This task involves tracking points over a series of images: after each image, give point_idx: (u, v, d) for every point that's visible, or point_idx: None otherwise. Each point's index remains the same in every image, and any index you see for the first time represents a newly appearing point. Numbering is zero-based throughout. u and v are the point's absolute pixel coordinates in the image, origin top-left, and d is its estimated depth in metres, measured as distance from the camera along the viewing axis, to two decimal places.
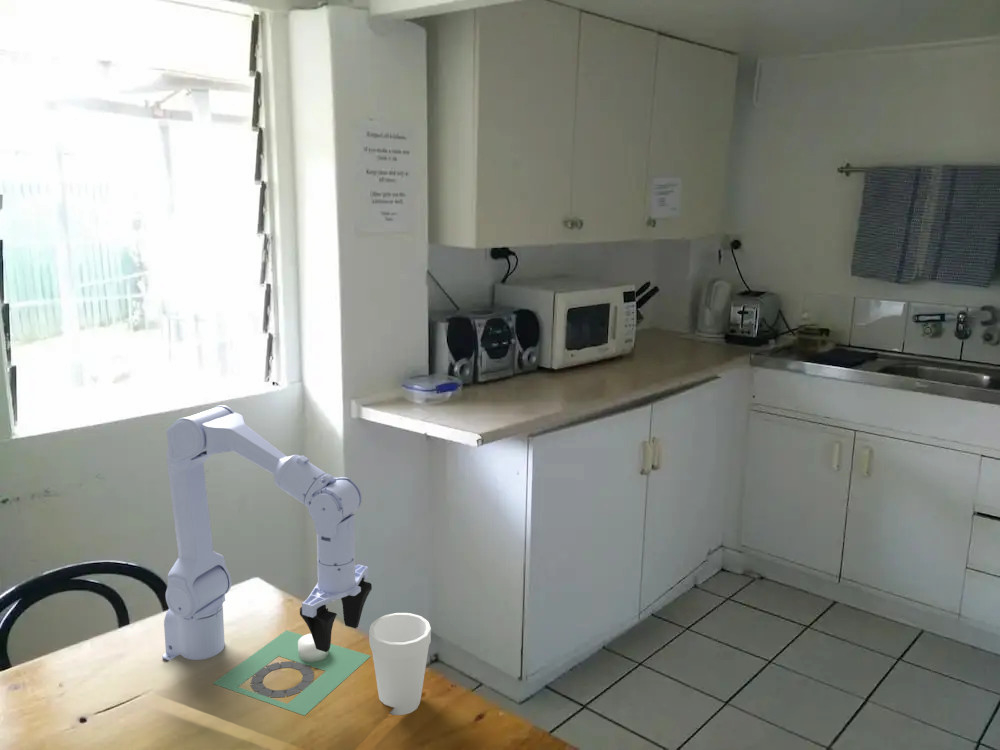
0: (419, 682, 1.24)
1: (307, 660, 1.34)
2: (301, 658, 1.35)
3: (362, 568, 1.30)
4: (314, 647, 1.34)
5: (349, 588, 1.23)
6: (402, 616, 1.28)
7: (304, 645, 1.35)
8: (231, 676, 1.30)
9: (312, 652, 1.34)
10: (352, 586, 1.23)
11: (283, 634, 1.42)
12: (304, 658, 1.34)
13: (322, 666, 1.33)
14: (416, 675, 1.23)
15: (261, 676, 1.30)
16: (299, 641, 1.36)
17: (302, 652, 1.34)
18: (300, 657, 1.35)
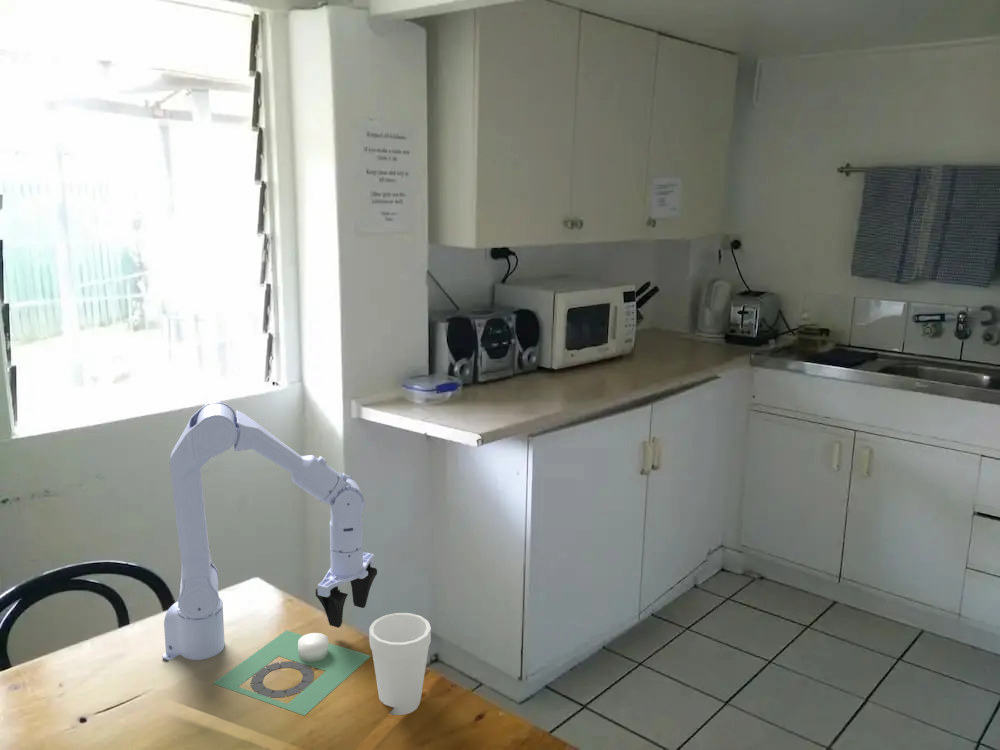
0: (419, 682, 1.24)
1: (307, 659, 1.34)
2: (301, 658, 1.35)
3: (368, 555, 1.49)
4: (314, 647, 1.34)
5: (358, 572, 1.41)
6: (402, 616, 1.28)
7: (304, 645, 1.35)
8: (231, 676, 1.30)
9: (312, 652, 1.34)
10: (360, 570, 1.42)
11: (283, 634, 1.42)
12: (304, 658, 1.34)
13: (322, 666, 1.33)
14: (416, 675, 1.23)
15: (261, 676, 1.30)
16: (299, 641, 1.36)
17: (301, 651, 1.34)
18: (300, 657, 1.35)
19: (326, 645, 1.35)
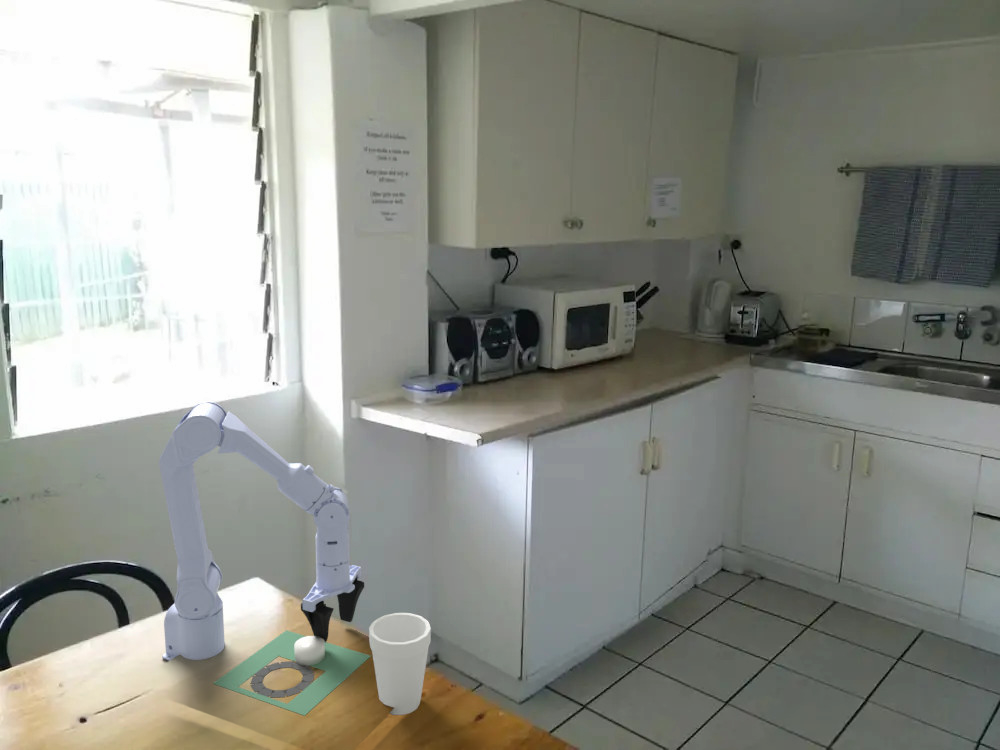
0: (419, 682, 1.24)
1: (303, 663, 1.33)
2: (297, 661, 1.34)
3: (356, 568, 1.45)
4: (310, 650, 1.33)
5: (344, 586, 1.38)
6: (402, 616, 1.28)
7: (300, 648, 1.34)
8: (231, 676, 1.30)
9: (309, 655, 1.33)
10: (347, 584, 1.39)
11: (283, 634, 1.42)
12: (300, 661, 1.33)
13: (322, 666, 1.33)
14: (416, 675, 1.23)
15: (261, 676, 1.30)
16: (295, 644, 1.35)
17: (298, 655, 1.33)
18: (296, 660, 1.34)
19: (322, 648, 1.34)
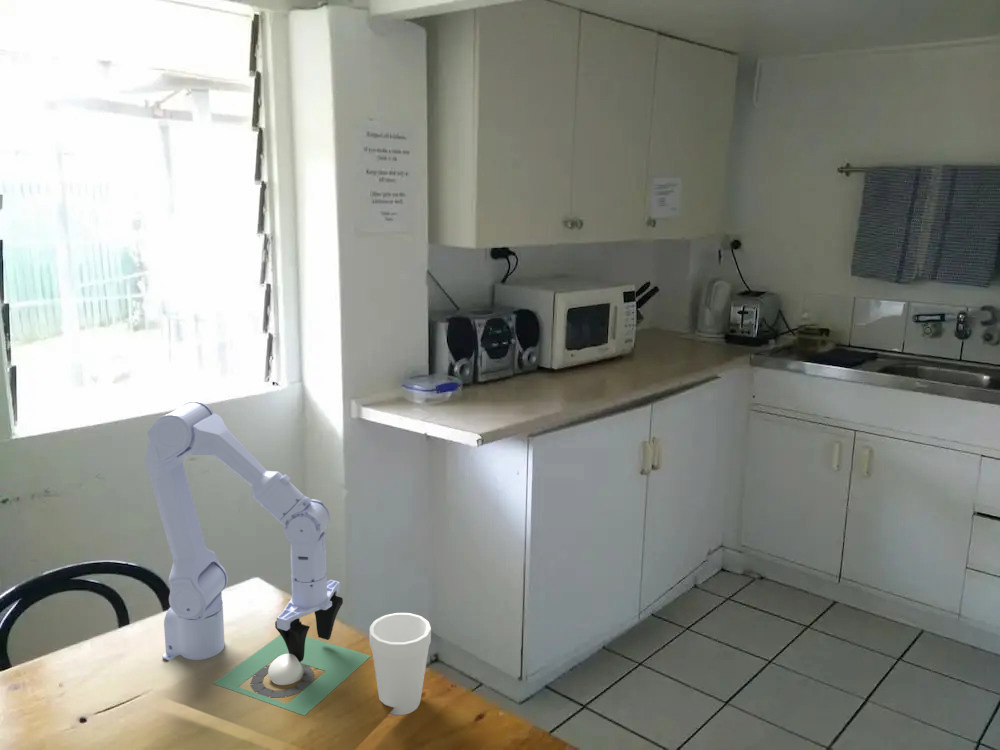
0: (419, 682, 1.24)
1: None
2: None
3: (334, 583, 1.40)
4: (285, 678, 1.27)
5: (321, 603, 1.32)
6: (402, 616, 1.28)
7: (275, 677, 1.28)
8: (231, 676, 1.30)
9: (285, 682, 1.28)
10: (324, 601, 1.33)
11: None
12: None
13: (322, 666, 1.33)
14: (416, 675, 1.23)
15: (261, 676, 1.30)
16: (269, 671, 1.29)
17: None
18: None
19: (297, 669, 1.29)
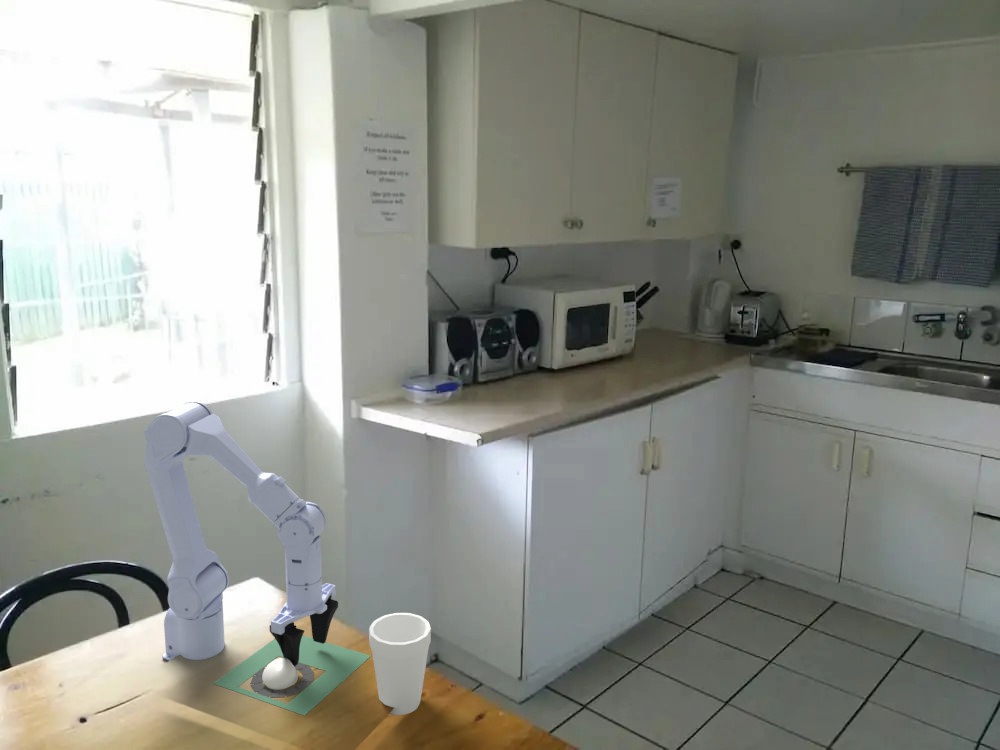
0: (419, 682, 1.24)
1: None
2: None
3: (330, 586, 1.38)
4: (279, 682, 1.26)
5: (316, 607, 1.31)
6: (402, 616, 1.28)
7: (269, 681, 1.27)
8: (231, 676, 1.30)
9: (279, 687, 1.26)
10: (319, 604, 1.31)
11: None
12: None
13: (322, 666, 1.33)
14: (416, 675, 1.22)
15: (261, 676, 1.30)
16: (263, 675, 1.28)
17: None
18: None
19: (291, 674, 1.27)
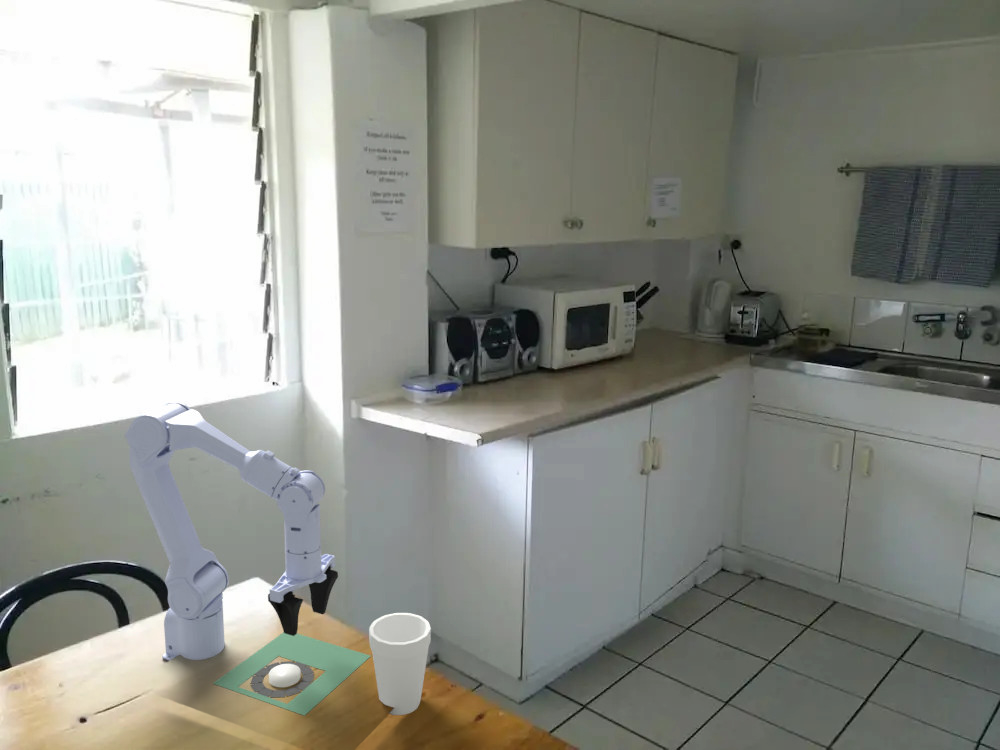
0: (419, 682, 1.24)
1: None
2: None
3: (329, 557, 1.37)
4: (285, 680, 1.27)
5: (315, 576, 1.30)
6: (402, 616, 1.28)
7: (275, 678, 1.28)
8: (231, 676, 1.30)
9: (283, 685, 1.27)
10: (318, 574, 1.30)
11: (283, 634, 1.42)
12: None
13: (322, 666, 1.33)
14: (416, 675, 1.23)
15: (261, 676, 1.30)
16: (270, 673, 1.29)
17: None
18: None
19: (298, 678, 1.29)
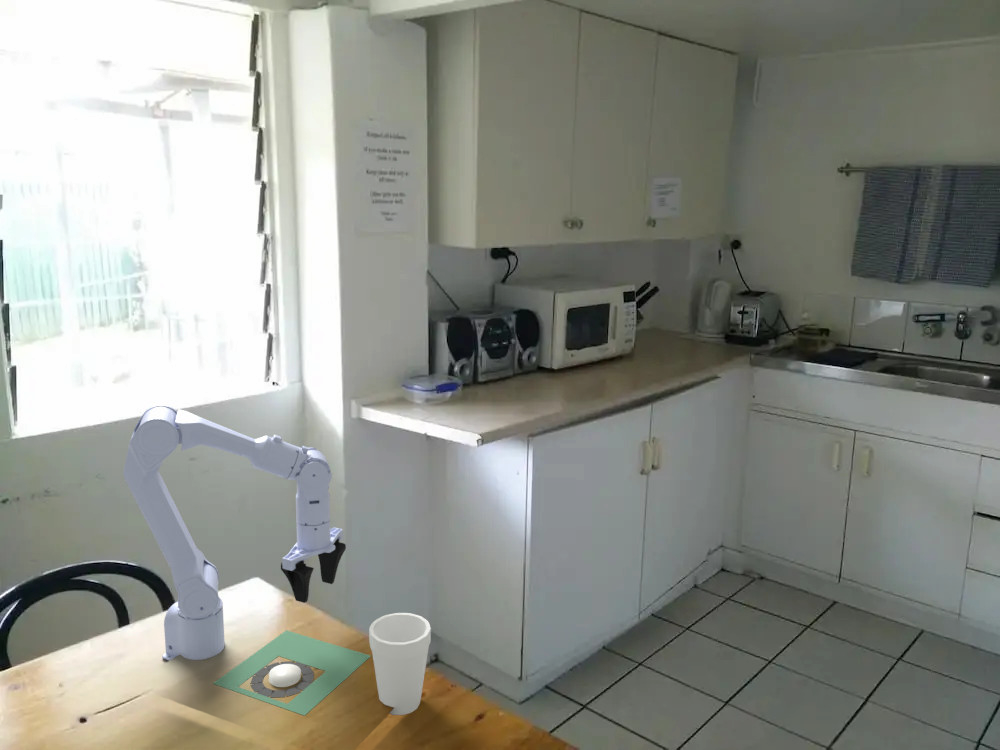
0: (419, 682, 1.24)
1: None
2: None
3: (337, 530, 1.46)
4: (284, 680, 1.27)
5: (325, 546, 1.38)
6: (402, 616, 1.28)
7: (275, 677, 1.28)
8: (231, 676, 1.30)
9: (282, 684, 1.27)
10: (327, 544, 1.39)
11: (283, 634, 1.42)
12: None
13: (322, 666, 1.33)
14: (416, 675, 1.23)
15: (261, 676, 1.30)
16: (270, 672, 1.29)
17: (271, 683, 1.28)
18: None
19: (298, 678, 1.29)
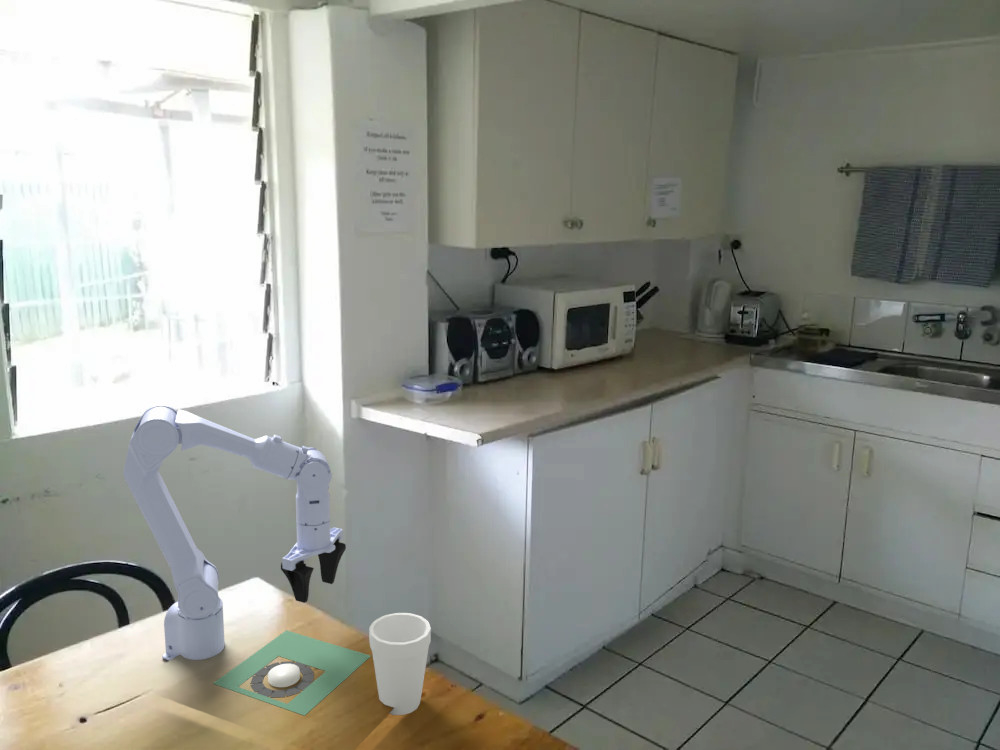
0: (419, 682, 1.24)
1: None
2: None
3: (337, 530, 1.46)
4: (282, 680, 1.27)
5: (325, 546, 1.38)
6: (402, 616, 1.28)
7: (273, 677, 1.28)
8: (231, 676, 1.30)
9: (280, 685, 1.27)
10: (327, 544, 1.39)
11: (283, 634, 1.42)
12: None
13: (322, 666, 1.33)
14: (416, 675, 1.23)
15: (261, 676, 1.30)
16: (270, 672, 1.30)
17: None
18: None
19: (296, 678, 1.28)
